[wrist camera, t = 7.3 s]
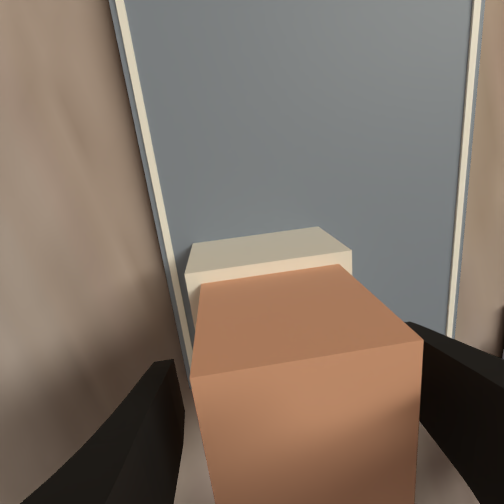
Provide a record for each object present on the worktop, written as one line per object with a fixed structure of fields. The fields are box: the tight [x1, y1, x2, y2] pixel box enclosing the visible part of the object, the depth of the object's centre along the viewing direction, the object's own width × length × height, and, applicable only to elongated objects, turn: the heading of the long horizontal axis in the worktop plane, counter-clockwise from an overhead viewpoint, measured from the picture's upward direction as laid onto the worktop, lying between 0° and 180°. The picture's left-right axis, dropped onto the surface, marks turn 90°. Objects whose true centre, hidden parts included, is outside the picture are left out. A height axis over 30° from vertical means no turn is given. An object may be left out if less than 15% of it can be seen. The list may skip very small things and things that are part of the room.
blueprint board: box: [109, 0, 485, 389], centre depth 13 cm, size 15×20×5 cm
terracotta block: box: [190, 264, 424, 504], centre depth 10 cm, size 5×5×5 cm
